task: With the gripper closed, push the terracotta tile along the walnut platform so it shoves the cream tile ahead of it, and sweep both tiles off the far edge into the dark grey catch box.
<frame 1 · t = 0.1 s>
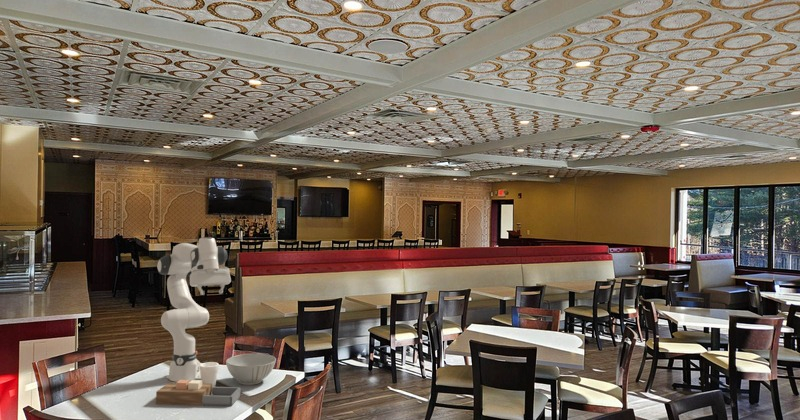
hand: (211, 294, 268), 52 cm above the table, tool tilted 20°, fingers open, 8 cm apart
walnut platform: (184, 399, 263), on the table
decorative bowl: (250, 381, 294), on the table
foam cup: (208, 389, 279), on the table
catch box: (221, 400, 263), on the table
terracotta tile: (182, 387, 263), point 6 cm above the table, touching walnut platform
cream tile: (195, 387, 263), point 6 cm above the table, touching walnut platform
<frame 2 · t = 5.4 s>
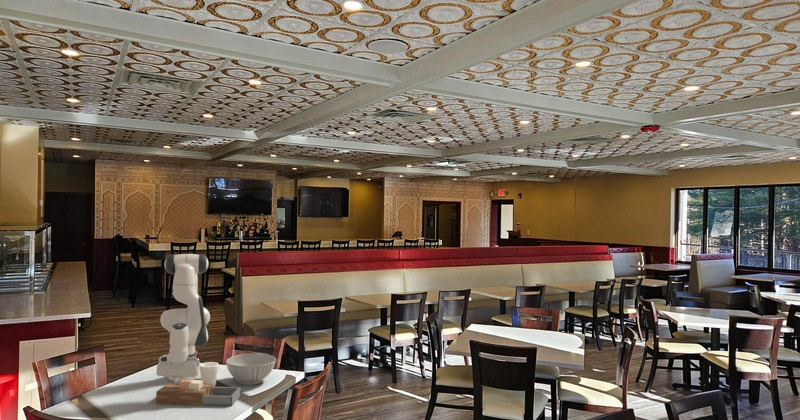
hand: (177, 385, 263), 7 cm above the table, tool pointing down, fingers closed
terracotta tile: (185, 387, 263), point 6 cm above the table, touching cream tile, gripper
cream tile: (195, 387, 263), point 6 cm above the table, touching terracotta tile
everything else where it was.
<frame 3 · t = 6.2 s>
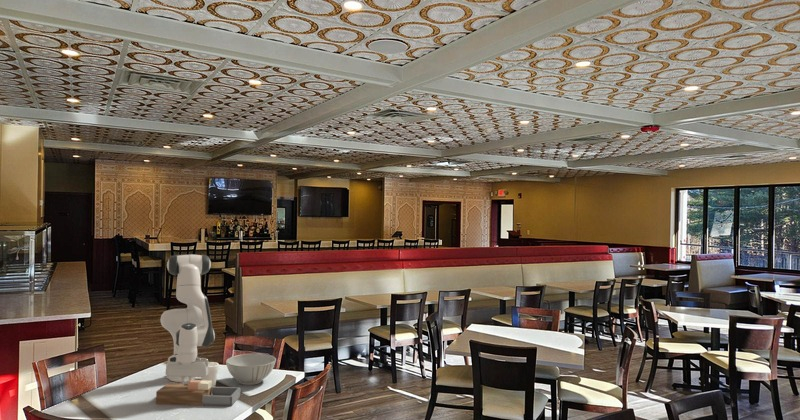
hand: (186, 385, 263), 7 cm above the table, tool pointing down, fingers closed
terracotta tile: (194, 387, 263), point 6 cm above the table, touching cream tile, gripper, walnut platform
cream tile: (204, 388, 263), point 6 cm above the table, touching terracotta tile, walnut platform
everything else where it was.
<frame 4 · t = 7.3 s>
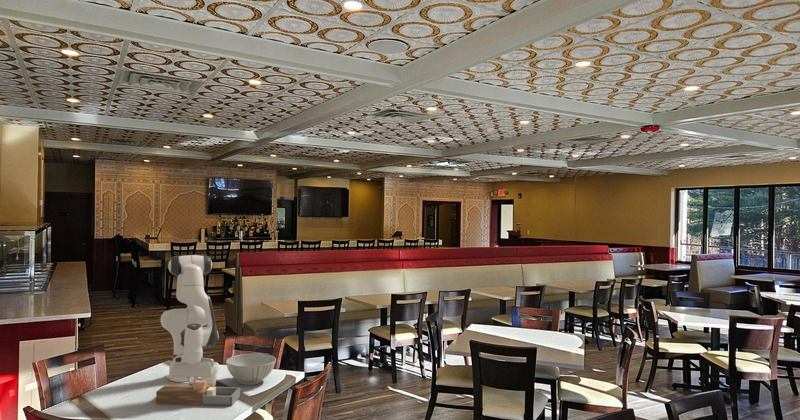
hand: (192, 385, 263), 7 cm above the table, tool pointing down, fingers closed
terracotta tile: (200, 387, 263), point 6 cm above the table, touching gripper, walnut platform
cream tile: (208, 393, 263), point 3 cm above the table, tilted 90°, touching catch box
everything else where it was.
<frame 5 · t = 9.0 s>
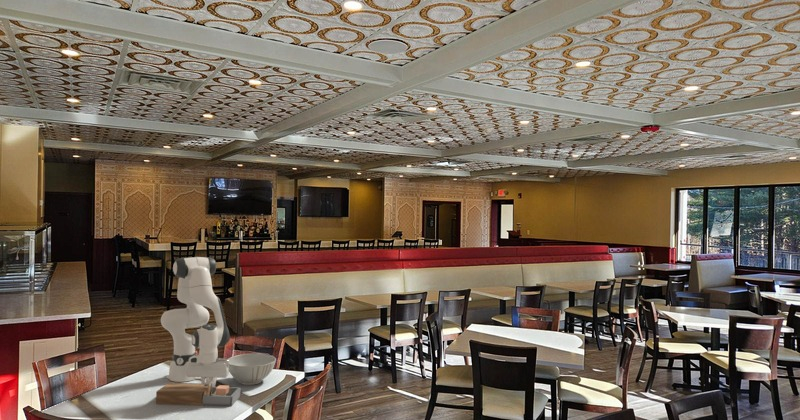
hand: (207, 385, 263), 7 cm above the table, tool pointing down, fingers closed
terracotta tile: (222, 393, 263), point 4 cm above the table, touching cream tile
cream tile: (219, 392, 263), point 4 cm above the table, tilted 180°, touching catch box, terracotta tile
everything else where it was.
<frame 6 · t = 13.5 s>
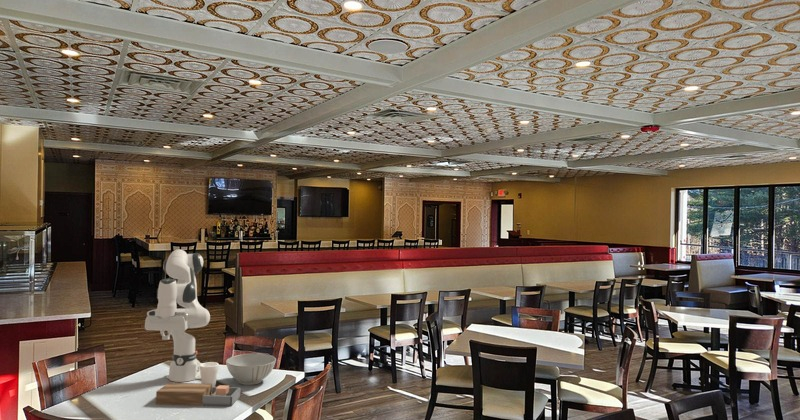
hand: (165, 339, 265), 29 cm above the table, tool pointing down, fingers closed
nothing on the table moved.
at the end: terracotta tile inside the target area on the catch box (0.6 cm from its centre), point 3.8 cm above the catch box's base; cream tile inside the target area on the catch box (1.0 cm from its centre), point 3.8 cm above the catch box's base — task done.
